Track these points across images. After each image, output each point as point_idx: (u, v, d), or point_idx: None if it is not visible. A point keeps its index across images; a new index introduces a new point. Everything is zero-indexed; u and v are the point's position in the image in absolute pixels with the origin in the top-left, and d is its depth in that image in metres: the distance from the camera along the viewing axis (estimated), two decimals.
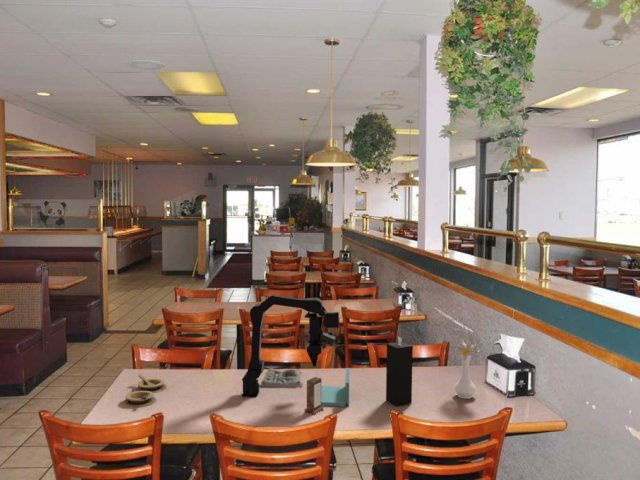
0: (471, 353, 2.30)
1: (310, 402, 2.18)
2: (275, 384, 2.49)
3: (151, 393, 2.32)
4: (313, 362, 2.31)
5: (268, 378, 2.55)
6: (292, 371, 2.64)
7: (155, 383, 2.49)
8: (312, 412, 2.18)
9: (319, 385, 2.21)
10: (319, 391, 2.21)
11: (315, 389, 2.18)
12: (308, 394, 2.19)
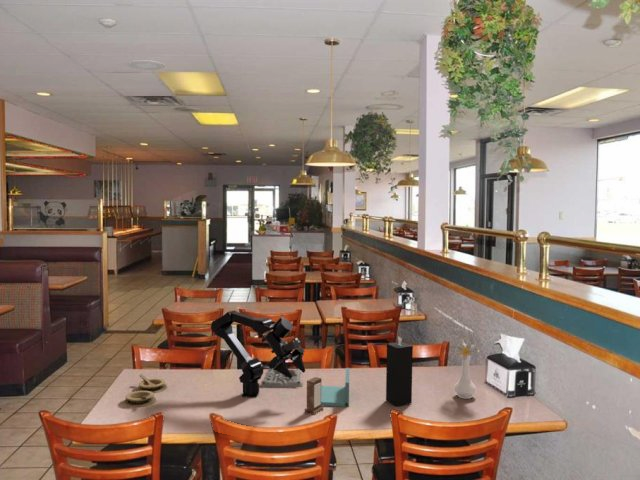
0: (471, 353, 2.30)
1: (310, 402, 2.18)
2: (275, 384, 2.49)
3: (151, 393, 2.32)
4: (287, 375, 2.21)
5: (268, 378, 2.55)
6: (292, 371, 2.64)
7: (156, 383, 2.49)
8: (312, 412, 2.18)
9: (319, 385, 2.21)
10: (319, 391, 2.21)
11: (315, 389, 2.18)
12: (308, 394, 2.19)
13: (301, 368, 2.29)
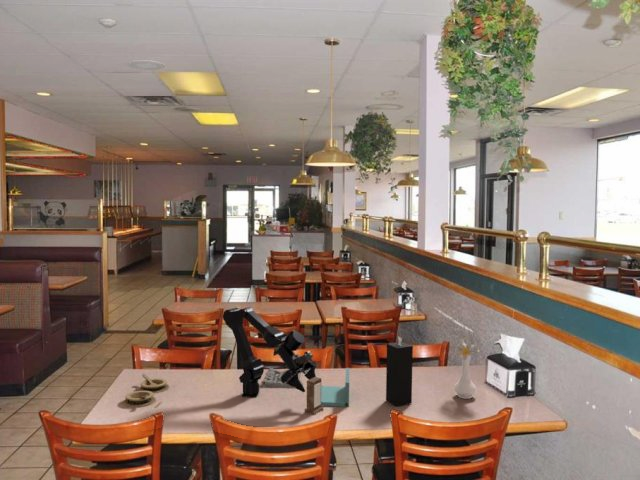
0: (471, 353, 2.30)
1: (310, 402, 2.18)
2: (275, 384, 2.49)
3: (151, 393, 2.32)
4: (299, 388, 2.18)
5: (268, 378, 2.55)
6: None
7: (158, 383, 2.49)
8: (312, 412, 2.18)
9: (319, 385, 2.21)
10: (319, 391, 2.21)
11: (315, 389, 2.18)
12: (308, 394, 2.19)
13: None
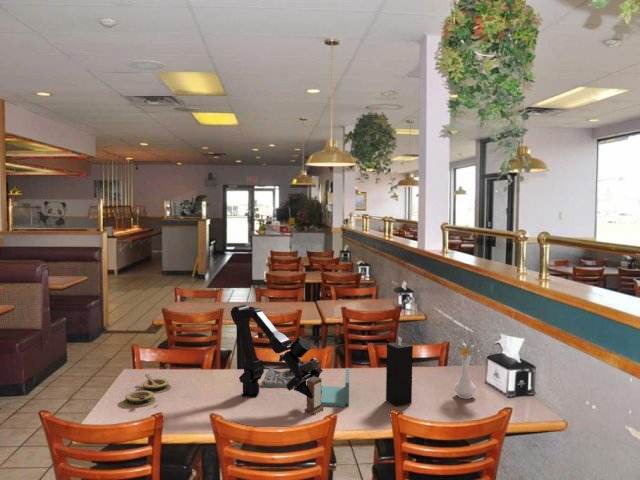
0: (471, 353, 2.30)
1: (310, 402, 2.18)
2: (275, 384, 2.49)
3: (151, 393, 2.32)
4: (307, 395, 2.18)
5: (268, 378, 2.55)
6: None
7: (160, 383, 2.49)
8: (312, 412, 2.18)
9: (319, 385, 2.21)
10: (319, 391, 2.21)
11: (315, 389, 2.18)
12: None
13: None
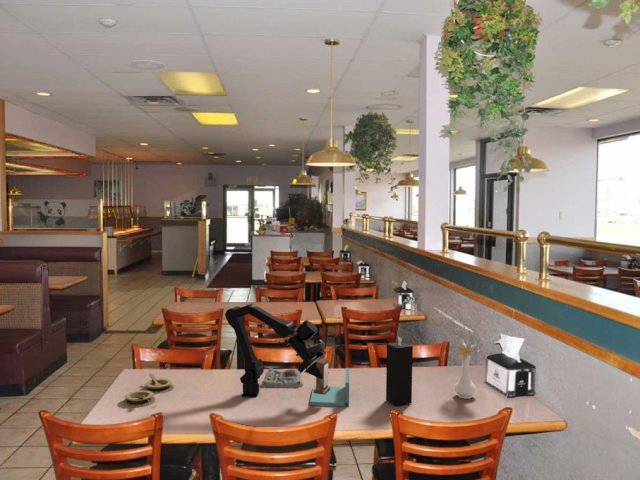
0: (471, 353, 2.30)
1: (320, 383, 2.24)
2: (276, 384, 2.49)
3: (151, 394, 2.32)
4: (318, 376, 2.23)
5: (268, 378, 2.55)
6: (292, 371, 2.64)
7: (164, 383, 2.49)
8: (322, 392, 2.24)
9: (327, 366, 2.27)
10: (327, 372, 2.27)
11: (324, 369, 2.24)
12: None
13: None
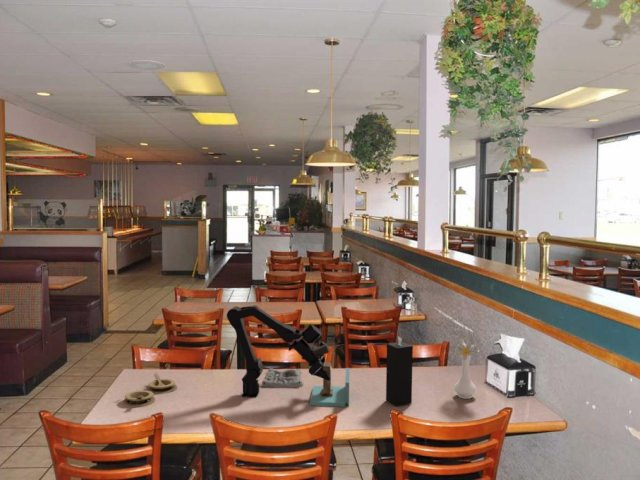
0: (471, 353, 2.30)
1: (327, 386, 2.33)
2: (276, 384, 2.49)
3: (150, 394, 2.31)
4: (325, 377, 2.31)
5: (269, 378, 2.55)
6: (292, 371, 2.64)
7: (167, 384, 2.49)
8: (329, 394, 2.34)
9: None
10: None
11: None
12: None
13: None
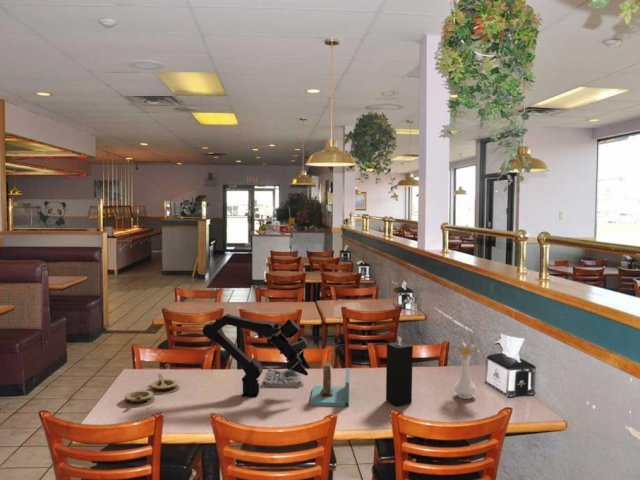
0: (471, 353, 2.30)
1: (327, 386, 2.33)
2: (276, 384, 2.49)
3: (150, 394, 2.31)
4: (303, 372, 2.32)
5: (269, 378, 2.55)
6: (292, 371, 2.64)
7: (170, 384, 2.48)
8: (329, 394, 2.34)
9: None
10: None
11: None
12: (325, 378, 2.33)
13: (305, 365, 2.41)
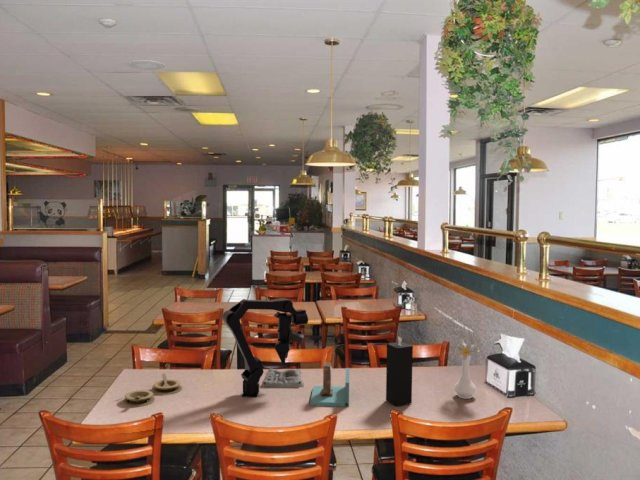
0: (471, 353, 2.30)
1: (327, 386, 2.33)
2: (276, 384, 2.49)
3: (150, 394, 2.31)
4: (282, 360, 2.40)
5: (269, 378, 2.55)
6: (292, 371, 2.64)
7: (173, 385, 2.47)
8: (329, 394, 2.34)
9: None
10: None
11: None
12: (325, 378, 2.33)
13: (285, 353, 2.50)
